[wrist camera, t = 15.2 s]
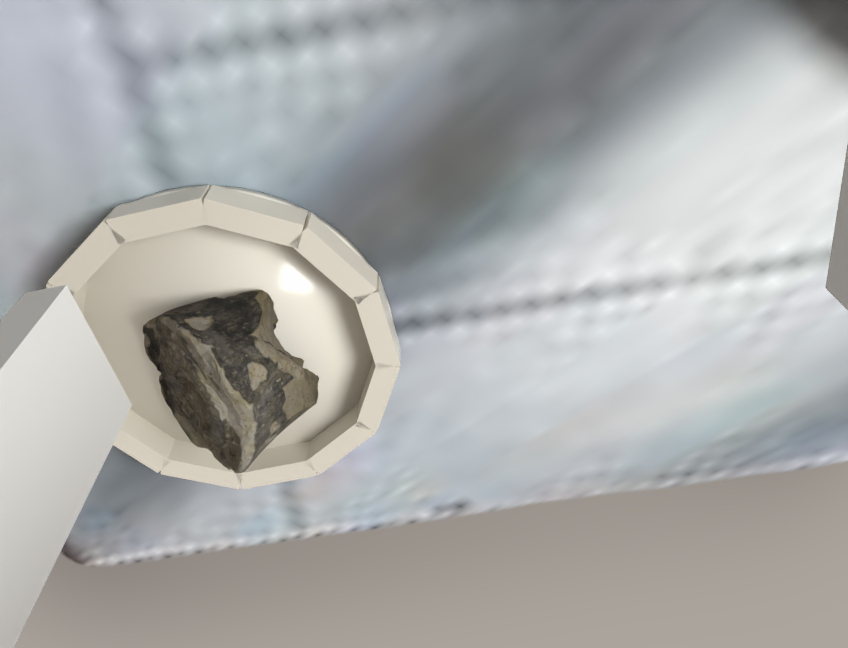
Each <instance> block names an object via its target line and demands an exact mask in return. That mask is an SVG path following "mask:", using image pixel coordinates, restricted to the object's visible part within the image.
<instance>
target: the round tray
mask: <svg viewBox="0 0 848 648" xmlns="http://www.w3.org/2000/svg"><path fill="white" fill-rule="evenodd" d="M377 274H378V273H377V272H376V271H375V270H374V269H373V268H372V267H371V266H370V264H369V263H368V262H367V260H366V259H365V257H364V256H363V255H362V253H361V252H360V251H359V250H358V249H357V248H356V247H355V246H354V245H353V244H352V243H351V242H350V241H349V240H348V239H347V238H346V237H345V236H344V235H343V234H341V233H340V232H339V231H338V230H336V229H335V228H334V227H333V226H331V225H330V224H329V223H327V222H326V221H324V220H323V219H321V218H319V217H318V216H316V215H315V214H313V213H311V212H310V211H308V210H306V209H304V208H302V207H300V206H298V205H296V204H293V203H291V202H289V201H287V200H284V199H281V198H278V197H276V196H273V195H270V194H267V193H264V192H259V191H254V190H250V189H245V188H240V187H231V186H220V185H200V186H186V187H180V188H174V189H167V190H164V191H161V192H157V193H154V194H151V195H147V196H144V197H142V198H140V199H138V200H136V201H134V202H130V203H126V204H121V205H118V206H117V207H114V209H113V210H112V211H111V212H110V213H109V214H108V215H107V216H106V217H105V218H104V219H103V221H102V222H101V223H100V224H99V225H98V226H97V227H96V228H95V229H94V230H93V231H92V232H91V234H90V235H89V236H88V237H87V238H86V239H85V240H84V241H83V242H82V244H81V245H80V246H79V247H78V248H77V249H76V250H75V251H74V252H73V253H72V254H71V256H70V257H69V258H68V259H67V260H66V261H65V262H64V263H63V264H62V265H61V267H60V268H59V269H58V270H57V271H56V272H55V273H54V275H53V276H52V277H51V278H50V279H49V280H48V283H47V284H46V289H47V288H52V287H58V286H63V285H67V287H68V289H69V290H70V292H71V294H72V296H73V298H74V299H75V301H76V303H77V305H78V307H79V309H80V310H81V312H82V314H83V316H84V318H85V320H86V321H87V323H88V325H89V327H90V329H91V331H92V332H93V334H94V336H95V338H96V340H97V342H98V343H99V345H100V347H101V349H102V351H103V352H104V354H105V356H106V358H107V360H108V362H109V363H110V365H111V367H112V369H113V371H114V373H115V374H116V376H117V378H118V380H119V382H120V384H121V385H122V387H123V389H124V391H125V393H126V395H127V396H128V398H129V400H130V402H131V404H132V406H131V408H130V411H129V413H128V415H127V417H126V419H125V421H124V423H123V425H122V427H121V429H120V431H119V433H118V435H117V437H116V439H115V441H114V443H113V445H114V446H116V447H117V448H119V449H120V450H122V451H124V452H125V453H127V454H128V455H130V456H132V457H133V458H135V459H136V460H138V461H139V462H141V463H143V464H144V465H146V466H147V467H149V468H151V469H152V470H154V471H155V472H157V473H158V472H159V471H161V474H163V475H168V476H173V477H178V478H183V479H189V480H194V481H199V482H204V483H209V484H214V485H220V486H225V487H230V488H235V489H240V487H242V489H248V488H253V487H259V486H264V485H269V484H275V483H280V482H286V481H291V480H296V479H302V478H307V477H312V476H317V473H318V474H321V473H323V472H324V471H325V470H327V469H328V468H329V467H331V466H332V465H333V464H335V463H336V462H337V461H339V460H340V459H341V458H343V457H344V456H346V455H347V454H348V453H350V452H351V451H352V450H354V449H355V448H356V447H358V446H359V445H360V444H362V443H363V442H364V441H366V440H367V439H368V438H370V437H371V436H373V435H374V434H375V433H376V431H377V430H378V428H379V425H380V422H381V419H382V417H383V414H384V411H385V408H386V406H387V403H388V400H389V397H390V395H391V392H392V389H393V386H394V384H395V381H396V378H397V375H398V373H399V370H400V344H399V341H398V338H397V334H396V331H395V327H394V321H393V316H392V312H391V307H390V304H389V301H388V298H387V296H386V293H385V290H384V288H383V286H382V283H381V279H380V276H377ZM253 290H263V291H265V292H267V293H268V294H269V295H270V297H271V299H272V301H273V302H274V311H275V313H276V316H277V318H278V322H277V324H276V328H275V329H274V334H275V336H276V337H277V339H278V340H279V341H280V344H281V345H282V347H283V348H284V350H285V351H287V352H289V353H290V354H291V355H292V356H294V357H298V358H302V359H303V360H304V363H303V368H305V369H308V370H309V371H310V372H313V373H314V374H315V375H318V377H319V381H318V400H317V403H316V404H315V405H314V406H312V407H311V408H310V409H309V410H307V411H306V412H305V413H304V414H302V415H301V416H300V417H299V418H297V419H296V420H295V421H294V422H292V423H291V424H290V425H289V426H288V427H287V428H286V429H284V430H283V431H282V432H281V433H280V434H279V435H278V436H277V437H276V438H275V439H274V440H273V441H272V442H271V443H270V444H269V445H268V446H267V447H266V448H265V449H264V450H263V451H262V452H261V453H260V454H259V455H258V457H257V458H256V459H255V460H254V461H253V463H252V464H251V465H250V466H249V468H248V469H247V470H245V471H244V472H242V473H237V474H236V473H234V471H233V470H228V469H227V468H226V467H224V466H223V465H222V464H221V463H220V462H219V461H218V460H216V459H215V458H214V456H213V454H212V452H211V451H209V450H208V449H206V448H200V447H197V446H196V445H194V444H193V443H192V442H191V441H190V439H189V438H188V436H187V435H186V433H185V432H184V431H183V429H182V428H181V426H180V424H179V423H178V421H177V420H176V418H175V417H174V416H173V413H172V411H171V409H170V408H169V406H168V405H167V403H166V402H165V400H164V397H163V395H162V393H161V386H160V383H159V376H160V375H161V373H160V372H159V371H158V370H157V367H156V366H155V365H154V364H153V362H151V361H150V359H149V358H148V356H147V354H146V351H145V347H144V334H143V325H145V324H146V323H147V322H148V321H149V320H151V319H153V318H155V317H157V316H159V315H161V314H163V313H164V312H166V311H169V310H171V309H174V308H177V307H179V306H183V305H187V304H190V303H194V302H197V301H201V300H204V299H208V298H213V297H218V298H226V297H229V296H234V295H237V294H240V293H243V292H248V291H253Z"/></svg>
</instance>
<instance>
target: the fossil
mask: <svg viewBox="0 0 848 648" xmlns="http://www.w3.org/2000/svg"><path fill="white" fill-rule="evenodd" d="M277 322H278V318H277V316H276V313H275V311H274V302H273V301H272V299H271V297H270V295H269V294H268V293H267V292H265V291H263V290H253V291H248V292H243V293H240V294H237V295H234V296H229V297H226V298H218V297H213V298H208V299H204V300H201V301H197V302H194V303H190V304H187V305H183V306H179V307H177V308H174V309H171V310H169V311H166V312H164V313H163V314H161V315H159V316H157V317H155V318H153V319H151V320H149V321H148V322H147V323H146V324H145V325H143V334H144V347H145V351H146V354H147V356H148V358H149V359H150V361H151V362H153V364H154V365H155V366H156V367H157V370H158V371H159V372H160V373H161V375H160V376H159V383H160V386H161V393H162V395H163V397H164V400H165V402H166V403H167V405H168V406H169V408H170V409H171V411H172V413H173V416H174V417H175V418H176V420H177V421H178V423H179V424H180V426H181V428H182V429H183V431H184V432H185V433H186V435H187V436H188V438H189V439H190V441H191V442H192V443H193V444H194V445H196V446H197V447H200V448H206V449H208V450H209V451H211V452H212V454H213V456H214V458H215V459H216V460H218V461H219V462H220V463H221V464H222V465H223V466H224V467H226V468H227V469H228V470H233V471H234V473H236V474H237V473H242V472H244V471H245V470H247V469H248V468H249V466H250V465H251V464H252V463H253V461H254V460H255V459H256V458H257V457H258V455H259V454H260V453H261V452H262V451H263V450H264V449H265V448H266V447H267V446H268V445H269V444H270V443H271V442H272V441H273V440H274V439H275V438H276V437H277V436H278V435H279V434H280V433H281V432H282V431H283V430H284V429H286V428H287V427H288V426H289V425H290V424H291V423H292V422H294V421H295V420H296V419H297V418H299V417H300V416H301V415H302V414H304V413H305V412H306V411H307V410H309V409H310V408H311V407H312V406H314V405H315V404H316V403H317V400H318V381H319V377H318V375H315V374H314V373H313V372H310V371H309V370H308V369H305V368H303V363H304V360H303V359H302V358H298V357H294V356H292V355H291V354H290V353H289V352H287V351H285V350H284V348H283V347H282V345H281V344H280V341H279V340H278V339H277V337H276V336H275V334H274V329H275V328H276V324H277Z"/></svg>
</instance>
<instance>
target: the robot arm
mask: <svg viewBox="0 0 848 648" xmlns="http://www.w3.org/2000/svg"><path fill="white" fill-rule="evenodd" d="M826 289H827V290H828V291H829V292H830V293H831V294H832V295H833V296H834V297H835V298H836V299H837V300H838V301H839V302H840V303H841V304H842V305H843V306H844V307H845V308H846V309H847V310H848V145H847V152H846V158H845V165H844V171H843V178H842V184H841V191H840V197H839V204H838V210H837V217H836V223H835V230H834V236H833V243H832V249H831V256H830V263H829V269H828V276H827V282H826ZM131 406H132V404H131V402H130V400H129V398H128V396H127V395H126V393H125V391H124V389H123V387H122V385H121V384H120V382H119V380H118V378H117V376H116V374H115V373H114V371H113V369H112V367H111V365H110V363H109V362H108V360H107V358H106V356H105V354H104V352H103V351H102V349H101V347H100V345H99V343H98V342H97V340H96V338H95V336H94V334H93V332H92V331H91V329H90V327H89V325H88V323H87V321H86V320H85V318H84V316H83V314H82V312H81V310H80V309H79V307H78V305H77V303H76V301H75V299H74V298H73V296H72V294H71V292H70V290H69V289H68V287H67V285H63V286H58V287H52V288H47V289H42V290H36V291H31V292H25V293H24V294H23V295H22V297H21V298H20V299H19V300H18V301H17V302H16V304H15V305H14V306H13V307H12V308H11V309H10V310H9V312H8V313H7V314H6V315H5V316H4V317H3V319H2V320H1V321H0V648H14V646H15V643H16V642H17V640H18V637H19V635H20V633H21V631H22V629H23V627H24V625H25V623H26V621H27V619H28V617H29V615H30V613H31V611H32V609H33V607H34V605H35V603H36V601H37V599H38V596H39V595H40V593H41V590H42V588H43V586H44V584H45V582H46V580H47V578H48V576H49V574H50V572H51V570H52V568H53V566H54V564H55V562H56V560H57V558H58V556H59V554H60V552H61V550H62V548H63V545H64V543H65V541H66V539H67V537H68V535H69V533H70V531H71V529H72V527H73V525H74V523H75V521H76V519H77V517H78V515H79V513H80V511H81V509H82V507H83V505H84V503H85V501H86V498H87V496H88V494H89V492H90V490H91V488H92V486H93V484H94V482H95V480H96V478H97V476H98V474H99V472H100V470H101V468H102V466H103V464H104V462H105V460H106V458H107V456H108V453H109V451H110V449H111V447H112V445H113V443H114V441H115V439H116V437H117V435H118V433H119V431H120V429H121V427H122V425H123V423H124V421H125V419H126V417H127V415H128V413H129V411H130V408H131Z"/></svg>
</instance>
